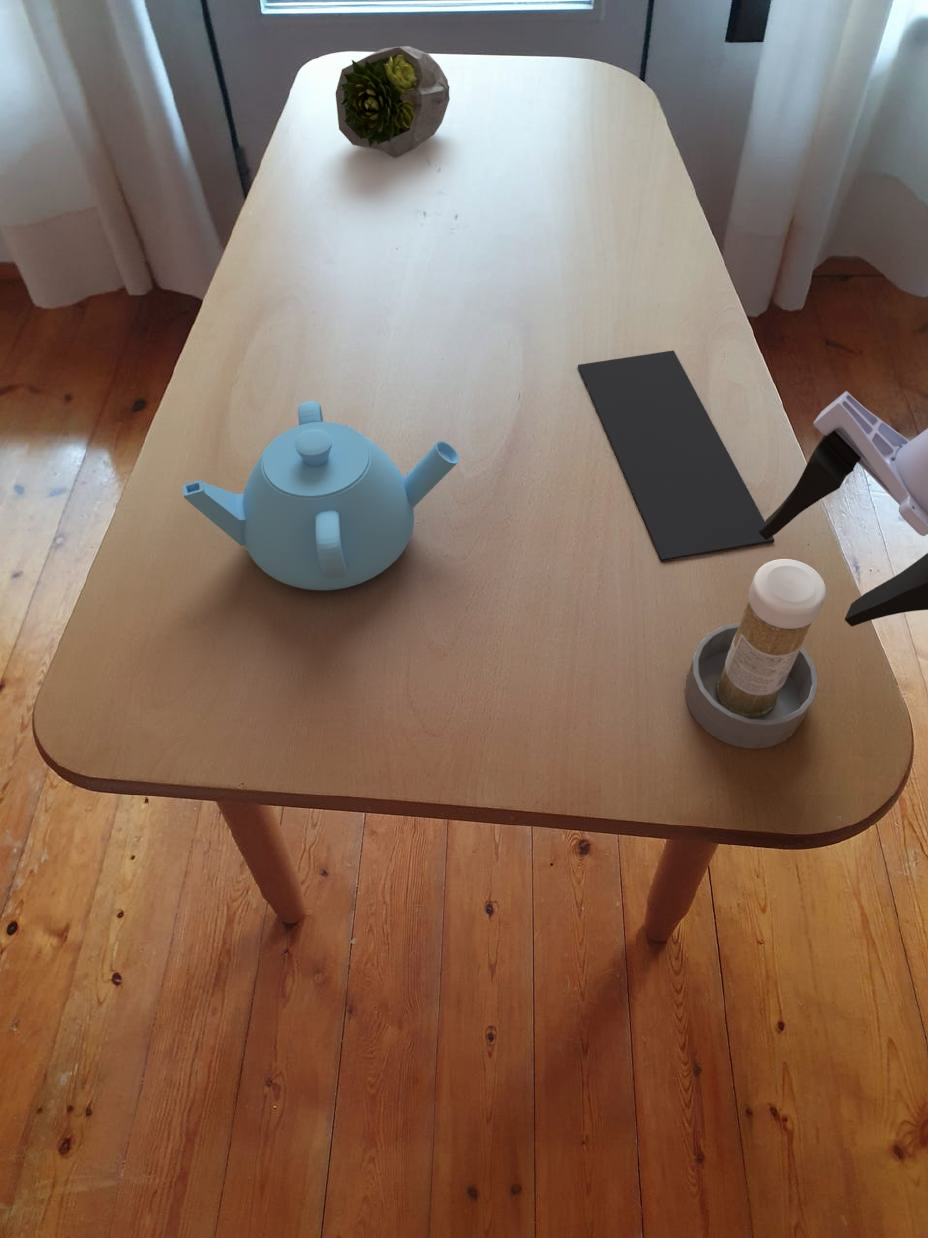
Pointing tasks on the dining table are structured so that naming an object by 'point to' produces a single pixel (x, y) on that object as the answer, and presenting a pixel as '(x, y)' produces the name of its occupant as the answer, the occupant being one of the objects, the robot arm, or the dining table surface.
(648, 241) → the dining table surface
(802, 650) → the basin
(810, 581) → the sprinkles bottle
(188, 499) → the teapot
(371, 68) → the potted plant
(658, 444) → the mat
